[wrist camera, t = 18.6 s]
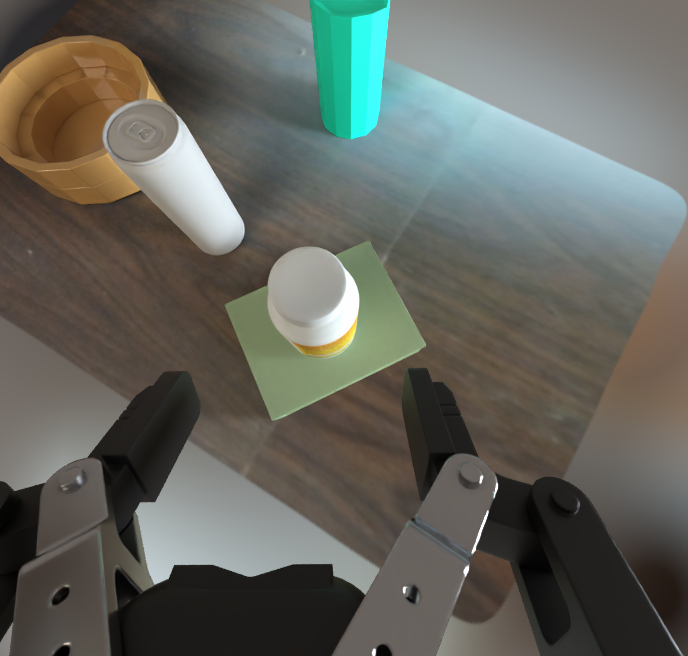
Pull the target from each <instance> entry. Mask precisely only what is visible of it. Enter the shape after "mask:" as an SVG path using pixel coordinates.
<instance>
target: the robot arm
mask: <svg viewBox="0 0 688 656" xmlns="http://www.w3.org/2000/svg"><path fill="white" fill-rule="evenodd" d="M402 411H403V417H404V422H405V427H406V432H407V437H408V442H409V447H410V452H411V457H412V462H413V467H414V472H415V477H416V482H417V487H418V492H419V497H420V501H423V503H422V505H421V507H420V509H419V510H418V512H417V514H416V516H415V517H414V518H411V519H410V520H409V521H408V522H407V523H406V525H405V527H404V528H403V530H402V532H401V534H400V535H399V537H398V539H397V541H396V542H395V544H394V546H393V548H392V549H391V551H390V553H389V555H388V556H387V558H386V560H385V562H384V564H383V565H382V567H381V569H380V571H379V573H378V574H377V576H376V578H375V580H374V581H373V583H372V585H371V587H370V588H369V590H368V592H367V594H366V595H365V594H364V593H363V592H362V591H361V590H359V589H358V588H357V587H355V586H354V585H352V584H351V583H349V582H347V581H345V580H343V579H341V578H338V577H335V576H333V566H332V564H295V565H294V564H293V565H290V566H287V567H283V568H280V569H277V570H274V571H270V572H267V573H264V574H260V575H257V576H254V577H247V576H244V575H241V574H238V573H235V572H232V571H229V570H226V569H223V568H220V567H218V566H214V565H174V567H173V570H172V572H171V574H170V577H169V579H167V580H165V581H163V582H160V583H158V584H156V585H154V583H153V581H152V579H151V576H150V574H149V571H148V568H147V564H146V558H145V553H144V547H143V542H142V537H141V532H140V526H139V521H138V516H137V514H136V512H135V510H136V509H137V507H138V505H139V503H140V502H155V501H156V499H157V497H158V495H159V493H160V492H161V490H162V488H163V486H164V483H165V482H166V480H167V478H168V476H169V474H170V472H171V470H172V468H173V466H174V464H175V462H176V460H177V458H178V456H179V454H180V453H181V450H182V449H183V447H184V444H185V443H186V441H187V439H188V437H189V435H190V433H191V431H192V429H193V427H194V425H195V423H196V421H197V419H198V417H199V414H200V400H199V397H198V395H197V392H196V389H195V386H194V384H193V381H192V378H191V376H190V374H189V373H188V372H187V371H168V372H164V373H162V375H161V376H160V377H159V379H158V380H157V381H156V382H155V384H154V385H153V386H148V387H147V388H146V389H144V390H143V391H142V392H140V393H139V394H138V395H136V396H135V398H134V399H133V400H132V401H131V403H130V404H129V406H128V407H127V410H124V412H123V413H122V414H121V415H120V417H119V420H116V422H115V423H114V424H113V426H112V427H111V428H110V429H109V431H108V432H107V433H106V434H105V436H104V437H103V438H102V440H101V441H100V442H99V443H98V445H97V446H96V447H95V448H94V450H93V451H92V452H91V453H90V455H89V456H88V457H87V458H84V459H80V460H76V461H74V462H72V463H69V464H68V465H66V466H64V467H62V468H61V469H59V470H58V471H57V472H56V473H54V474H53V475H52V476H51V477H50V478H49V479H48V480H47V482H46V483H43V484H39V485H35V486H32V487H29V488H25V489H21V490H18V491H14V490H13V489H12V488H11V487H10V486H9V485H8V484H6V483H5V482H2V481H0V642H1V640H2V638H3V637H4V635H5V634H6V632H7V630H8V629H9V627H10V626H11V624H12V623H13V627H12V637H11V646H10V655H9V656H436V654H437V652H438V649H439V646H440V643H441V641H442V638H443V635H444V633H445V630H446V627H447V624H448V622H449V619H450V616H451V614H452V611H453V608H454V606H455V603H456V600H457V598H458V595H459V592H460V589H461V587H462V584H463V581H464V579H465V576H466V573H467V570H468V568H469V565H470V562H471V559H472V556H473V553H474V550H475V549H477V550H480V551H482V552H485V553H488V554H491V555H494V556H497V557H499V558H502V559H505V560H508V561H510V564H511V567H512V570H513V573H514V576H515V579H516V582H517V585H518V589H519V592H520V595H521V598H522V601H523V604H524V607H525V610H526V613H527V616H528V619H529V622H530V625H531V628H532V631H533V634H534V637H535V640H536V644H537V647H538V650H539V652H540V656H683V655H682V653H681V651H680V650H679V648H678V647H677V645H676V643H675V641H674V640H673V638H672V636H671V635H670V633H669V631H668V630H667V628H666V626H665V625H664V623H663V622H662V620H661V618H660V616H659V615H658V613H657V611H656V610H655V608H654V606H653V605H652V603H651V601H650V600H649V598H648V596H647V595H646V593H645V591H644V590H643V588H642V586H641V585H640V583H639V581H638V580H637V578H636V576H635V575H634V573H633V571H632V569H631V568H630V567H629V564H628V563H627V561H626V560H625V558H624V556H623V554H622V553H621V551H620V549H619V548H618V546H617V545H616V543H615V541H614V539H613V538H612V536H611V534H610V533H609V531H608V529H607V528H606V526H605V524H604V523H603V521H602V519H601V518H600V516H599V514H598V513H597V511H596V509H595V508H594V506H593V504H592V503H591V502H590V500H589V499H588V497H587V496H586V495H585V494H584V493H583V492H582V491H581V490H579V489H578V488H577V487H575V486H574V485H572V484H570V483H569V482H566V481H565V480H562V479H559V478H555V477H543V478H540V479H538V480H537V481H536V482H535V483H534V484H533V485H529V484H526V483H522V482H519V481H515V480H512V479H508V478H505V477H503V476H500V475H498V474H497V473H495V472H494V471H493V470H492V469H491V467H490V466H489V465H488V464H487V463H486V462H484V461H483V460H482V459H480V458H479V456H478V454H477V452H476V450H475V447H474V445H473V442H472V440H471V437H470V435H469V433H468V430H467V428H466V425H465V423H464V420H463V418H462V416H461V413H460V410H459V408H458V406H457V403H456V401H455V398H454V396H453V393H452V392H451V391H450V390H449V388H448V387H447V386H446V385H445V384H444V383H443V382H432V381H431V378H430V375H429V372H428V370H427V368H406V370H405V376H404V386H403V396H402Z"/></svg>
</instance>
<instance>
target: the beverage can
mask: <svg viewBox="0 0 688 656" xmlns="http://www.w3.org/2000/svg"><path fill="white" fill-rule="evenodd" d="M102 141H103V144H104V147H105V149H106V150H107V152H108V153H109V154H110V156H111V158H112V159H113V161H114V162H115V163H116V165H117V166H118V167H119V168H120V169H121V170H122V171H123V172H124V173H125V174H126V175H127V176H128V177H129V178H130V179H131V180H132V181H133V182H134V183H135V184H136V185H137V186H138V187H139V188H140V189H141V190H142V191H143V192H144V193H145V194H146V195H147V196H148V197H149V198H150V199H151V200H152V201H153V202H154V203H155V204H156V205H157V206H158V207H159V208H160V209H161V210H162V211H163V212H164V213H165V214H166V215H167V216H168V217H169V218H170V219H171V220H172V221H173V222H174V223H175V224H176V225H177V226H178V227H179V228H180V229H181V230H182V231H183V232H184V233H185V234H186V235H187V236H188V237H189V238H190V239H191V240H192V241H193V242H194V243H195V244H196V245H197V246H198V247H199V248H200V249H201V250H202V251H203V252H205V253H208V254H210V255H224V254H227V253H229V252H231V251H233V250H234V249H235V248H237V246H238V245H239V244H240V243H241V241H242V239H243V237H244V232H245V230H244V224H243V221H242V219H241V217H240V215H239V214H238V212H237V210H236V209H235V207H234V205H233V204H232V202H231V200H230V199H229V197H228V195H227V194H226V192H225V190H224V189H223V187H222V185H221V184H220V182H219V180H218V178H217V177H216V175H215V173H214V172H213V170H212V168H211V167H210V165H209V163H208V162H207V160H206V158H205V157H204V155H203V153H202V152H201V150H200V148H199V147H198V145H197V143H196V142H195V140H194V138H193V136H192V135H191V133H190V131H189V130H188V128H187V126H186V125H185V123H184V122H183V121H182V120H181V118H180V117H179V116H177V114H176V113H175V112H174V110H173V109H172V108H171V107H170V106H168V105H167V104H165V103H164V102H160V101H157V100H152V99H141V100H135V101H132V102H129V103H126V104H125V105H123V106H121V107H120V108H118V109H117V110H116V111H115V112H113V113H112V114H111V115H110V117H109V118H108V120H107V121H106V123H105V125H104V128H103V131H102Z"/></svg>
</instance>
